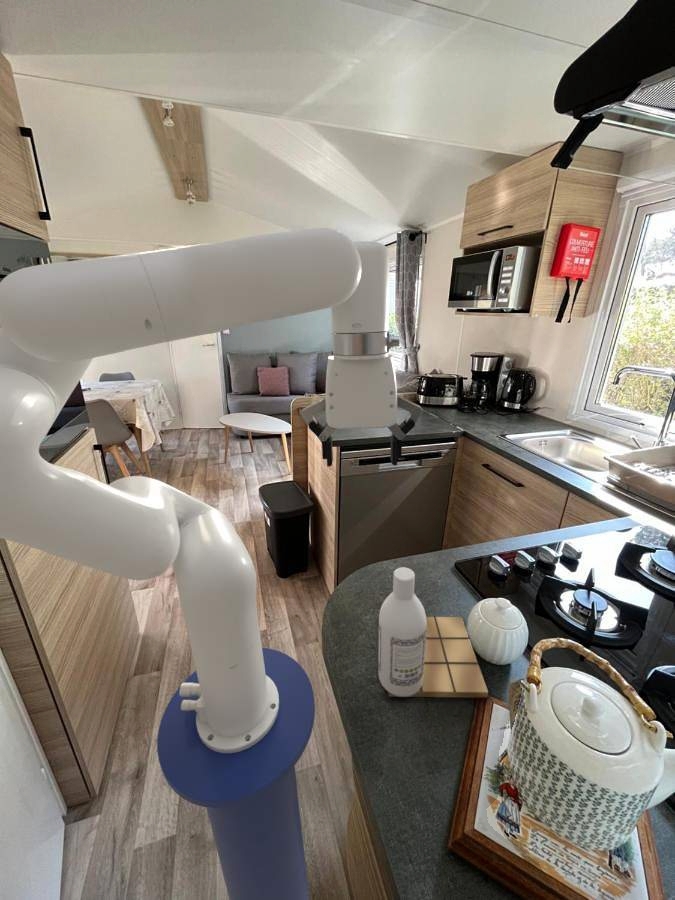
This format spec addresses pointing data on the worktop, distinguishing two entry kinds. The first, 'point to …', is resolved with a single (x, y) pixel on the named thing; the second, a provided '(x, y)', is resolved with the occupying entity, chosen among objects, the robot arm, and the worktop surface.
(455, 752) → the worktop surface
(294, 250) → the robot arm
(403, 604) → the bath foam
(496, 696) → the worktop surface
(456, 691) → the grid board
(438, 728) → the worktop surface
